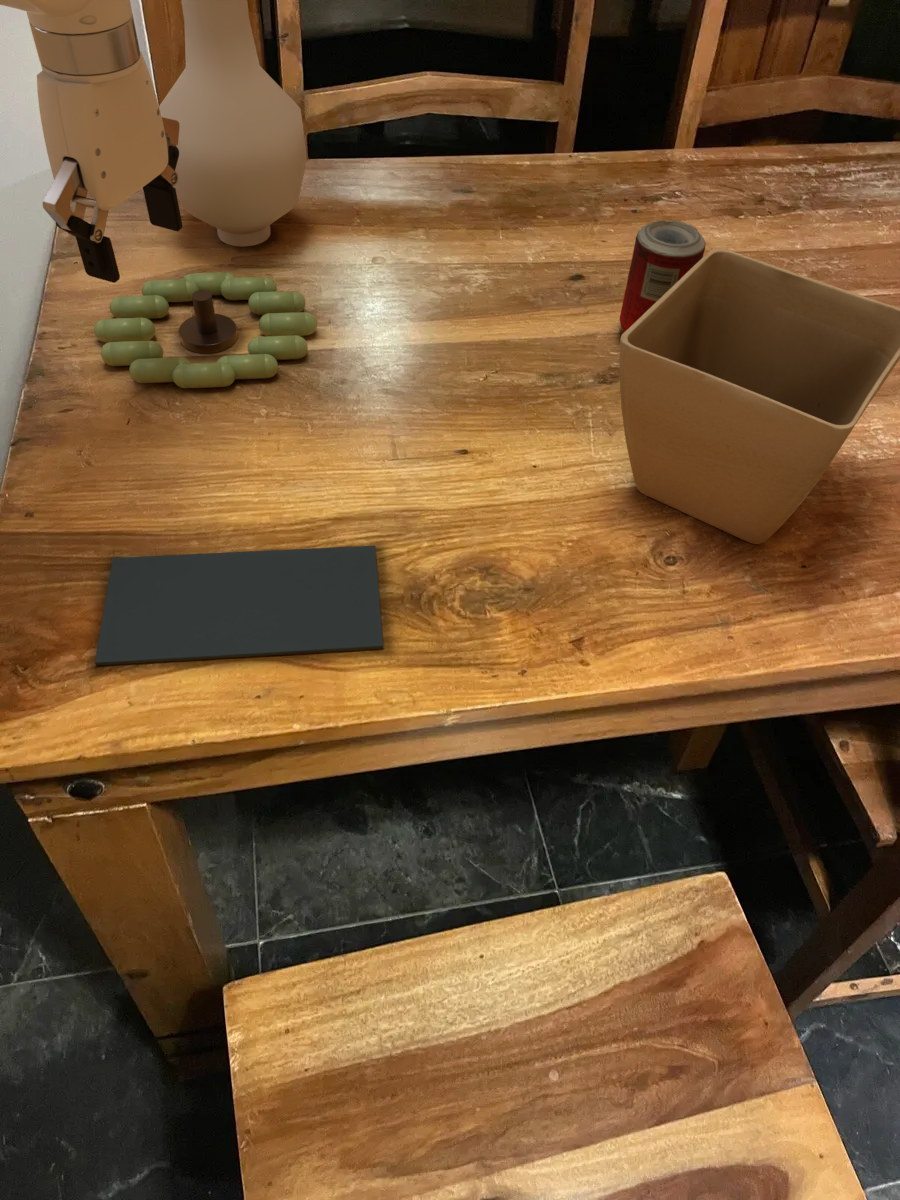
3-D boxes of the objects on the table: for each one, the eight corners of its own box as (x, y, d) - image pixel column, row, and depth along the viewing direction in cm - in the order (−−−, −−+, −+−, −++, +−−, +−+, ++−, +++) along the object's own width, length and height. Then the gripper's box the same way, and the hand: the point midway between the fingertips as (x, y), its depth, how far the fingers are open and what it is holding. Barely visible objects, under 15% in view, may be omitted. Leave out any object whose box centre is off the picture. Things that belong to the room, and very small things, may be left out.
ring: (85, 397, 92) (79, 377, 91) (106, 291, 105) (101, 271, 103) (321, 387, 95) (320, 367, 93) (314, 284, 108) (313, 265, 106)
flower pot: (583, 494, 86) (615, 337, 74) (674, 395, 97) (715, 242, 84) (777, 587, 80) (849, 432, 67) (851, 470, 90) (926, 316, 77)
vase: (332, 253, 112) (317, -15, 91) (198, 280, 107) (149, 3, 86) (285, 191, 122) (261, -64, 101) (160, 213, 117) (107, -50, 95)
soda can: (682, 357, 101) (711, 251, 92) (617, 352, 101) (639, 246, 92) (677, 321, 106) (704, 217, 97) (615, 316, 106) (636, 212, 97)
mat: (95, 665, 71) (94, 662, 71) (113, 561, 78) (112, 557, 78) (383, 649, 74) (383, 645, 73) (375, 548, 81) (375, 545, 80)
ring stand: (178, 354, 98) (169, 311, 94) (182, 321, 102) (174, 280, 98) (236, 352, 98) (229, 310, 95) (238, 320, 102) (232, 279, 98)
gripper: (114, 0, 77) (156, 200, 91) (-31, 74, 67) (40, 288, 80) (192, 16, 76) (223, 218, 89) (55, 95, 65) (113, 310, 78)
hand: (136, 251), depth 84 cm, fingers open, 9 cm apart
